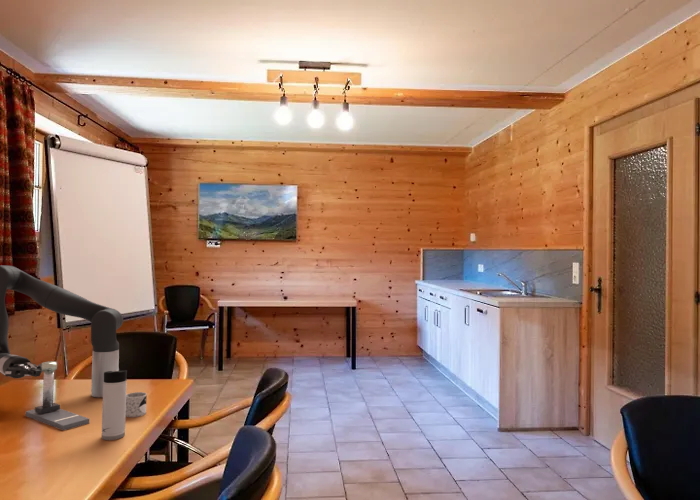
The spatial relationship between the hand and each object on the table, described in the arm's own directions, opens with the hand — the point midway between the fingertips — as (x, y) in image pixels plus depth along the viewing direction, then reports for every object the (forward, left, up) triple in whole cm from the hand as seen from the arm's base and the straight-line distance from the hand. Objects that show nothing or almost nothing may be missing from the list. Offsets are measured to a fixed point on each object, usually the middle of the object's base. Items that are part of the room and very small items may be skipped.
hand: (37, 373), depth 160 cm
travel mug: (-25, +33, -14) cm, 44 cm away
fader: (-4, +5, -12) cm, 13 cm away
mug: (-31, +11, -14) cm, 36 cm away
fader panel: (-7, +10, -13) cm, 18 cm away
